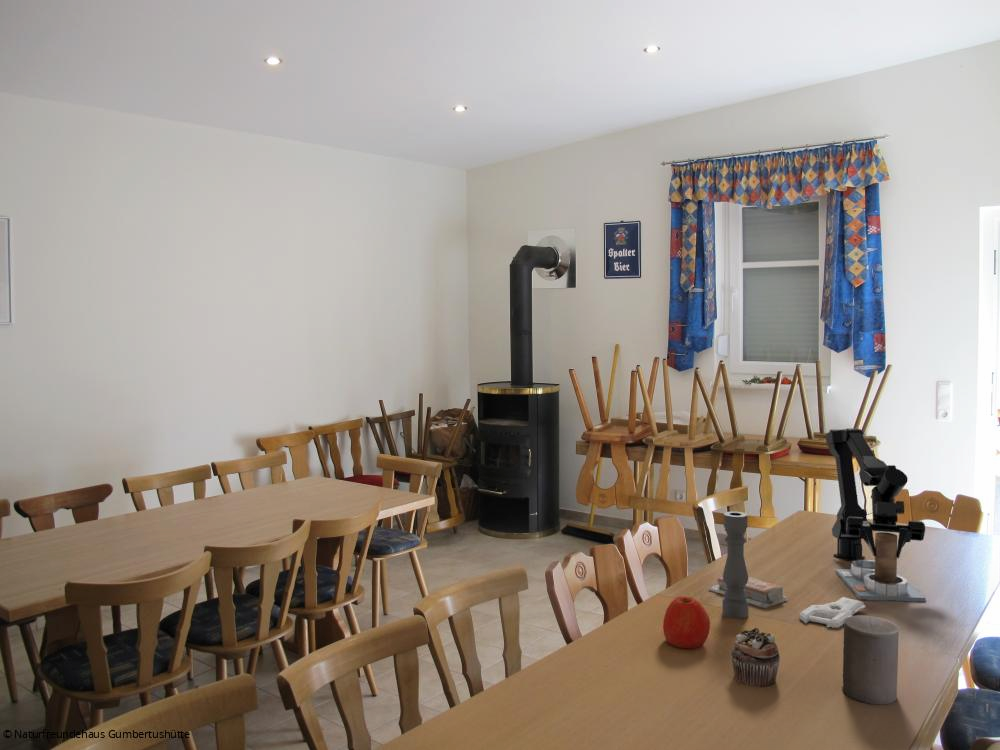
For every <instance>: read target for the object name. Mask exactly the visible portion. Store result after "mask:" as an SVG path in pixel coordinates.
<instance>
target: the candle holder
mask: <svg viewBox="0 0 1000 750" xmlns="http://www.w3.org/2000/svg"><path fill="white" fill-rule="evenodd" d="M748 521H749V520H748V513H746V512H743V511H725V512H724V513H723V528H724V531H725V532H726V536H725V537H724V541H725V543H726V544H727V547H726V548H727V551H726V552H727V557H726V560H725V565H724V569H723V573H722V575H723V580H724V582H725V584H726V587H727V590H726V592H724V595H723V599H722V615H723V616H725V617H727V618H729V619H736V620H740V619H742V620H743V619H746V618H748V617H749V603H748V601H747V600H746V599H747V594H746V593H745V591H744V589H745V587H744V586H745V585H746V584H747V582H748V576H749V573H748V568H747V565H746V561H745V557H744V556H745V555H744V552H745V551H744V550H745V549H744V548H745V546H744V545H745V544H746V543H747V538H746V537H745V535H746V534H745V533H746V532H747V529H748V524H749V523H748Z"/></svg>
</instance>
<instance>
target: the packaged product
mask: <svg viewBox="0 0 1000 750" xmlns="http://www.w3.org/2000/svg"><path fill="white" fill-rule="evenodd" d="M716 581H717V583H718V584H715V585H712V586H711V587H708V590H709V591H711V592H712V593H713V592H714V593H717V594H721V595H723V596H724V592H726V590H727V587H726V584H725V582H724V580H723V574H722V575H720V576H718V578H717V579H716ZM744 587H745V589H744V591H745V593H746V594H747V599H746V600H747V601H748V605H749V604H750V605H754V606H755V607H758V608H762V609H768V608H770V607H773V606H776V605H779V604H781V603H782V604H783V603H784V601H785V602H788V597H787V595H784V593H783V591H784V589H783V586H781V585H778V584H775V583H771V582H768V581H765V580H761V579H758V578H755V577H752V576H749V575H748V582H747V584H746V585H745V586H744ZM778 603H779V604H778Z"/></svg>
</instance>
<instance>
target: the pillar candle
mask: <svg viewBox="0 0 1000 750" xmlns="http://www.w3.org/2000/svg"><path fill="white" fill-rule="evenodd" d="M899 632H900V628H899V626H898V625H896V624H895V623H894V622H892V621H889V620H888V619H886V618H882V617H877V616H871V615H870V616H869V615H861V614H860V615H859V614H858V615H857V614H856V615H852V616H851V617H848V618H846V619H845V621H844V624H843V647H842V648H843V650H842V654H843V655H842V656H843V659H842V687H841V690H842V692H843V694H845V695H846V696H847V697H849V698H851V699H853V700H855V701H858V702H862V703H864V704H870V705H890V704H893V703H894V702H895V701H896V700H897V696H898V693H897V692H898V669H899V668H898V667H899V664H898V663H899V662H898V661H899V636H900V635H899Z"/></svg>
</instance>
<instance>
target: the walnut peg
mask: <svg viewBox="0 0 1000 750" xmlns="http://www.w3.org/2000/svg"><path fill="white" fill-rule="evenodd" d="M874 535H875V537H874V539H875V540H874V544H875V552H876V555H875V556H874V561H875V580H877V581H879V582H883V583H895V582H896V581H897V573H898V571H897V569H898V568H897V566H898V558H897V546H898V535H897V534H895V533H893V532H882V531H878V532H876V533H874Z"/></svg>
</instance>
